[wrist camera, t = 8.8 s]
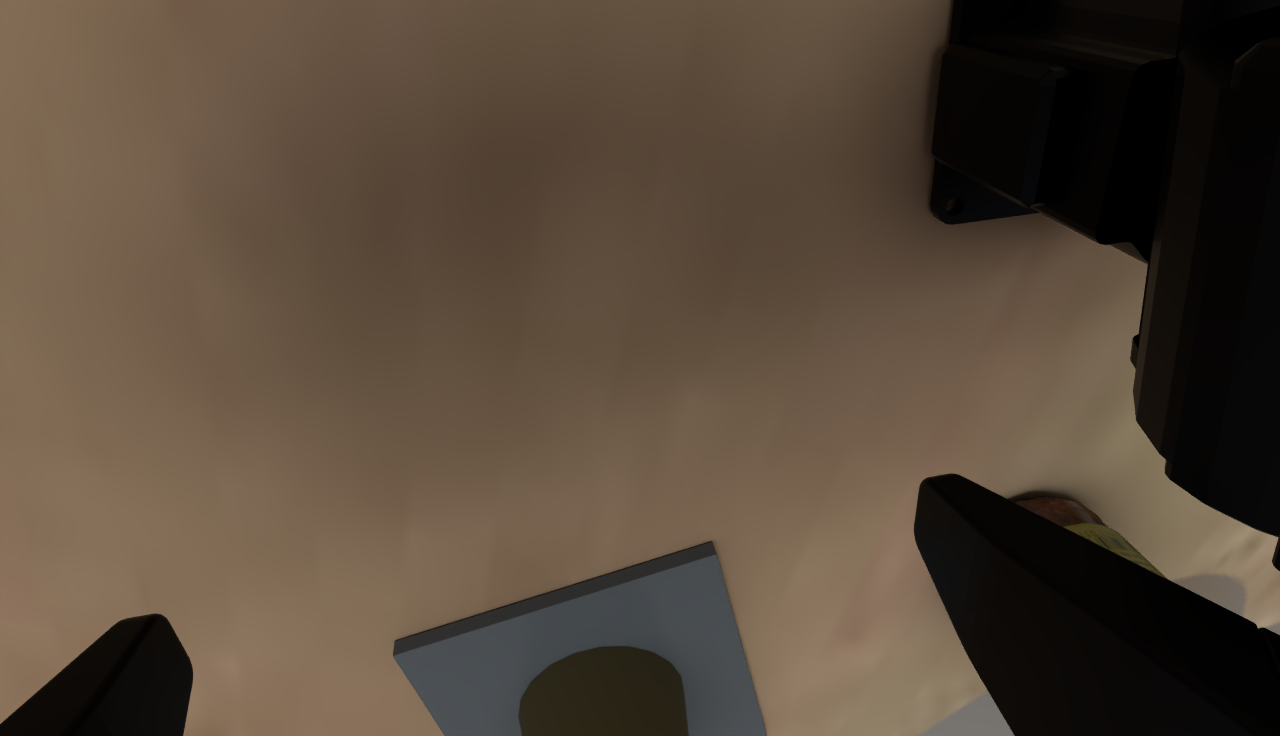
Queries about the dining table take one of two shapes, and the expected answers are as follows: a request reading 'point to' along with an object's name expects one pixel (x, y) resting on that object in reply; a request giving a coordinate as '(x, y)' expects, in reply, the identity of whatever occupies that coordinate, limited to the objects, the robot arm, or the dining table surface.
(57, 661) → the dining table surface
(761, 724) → the slate coaster
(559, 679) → the dark olive bulbous piece
